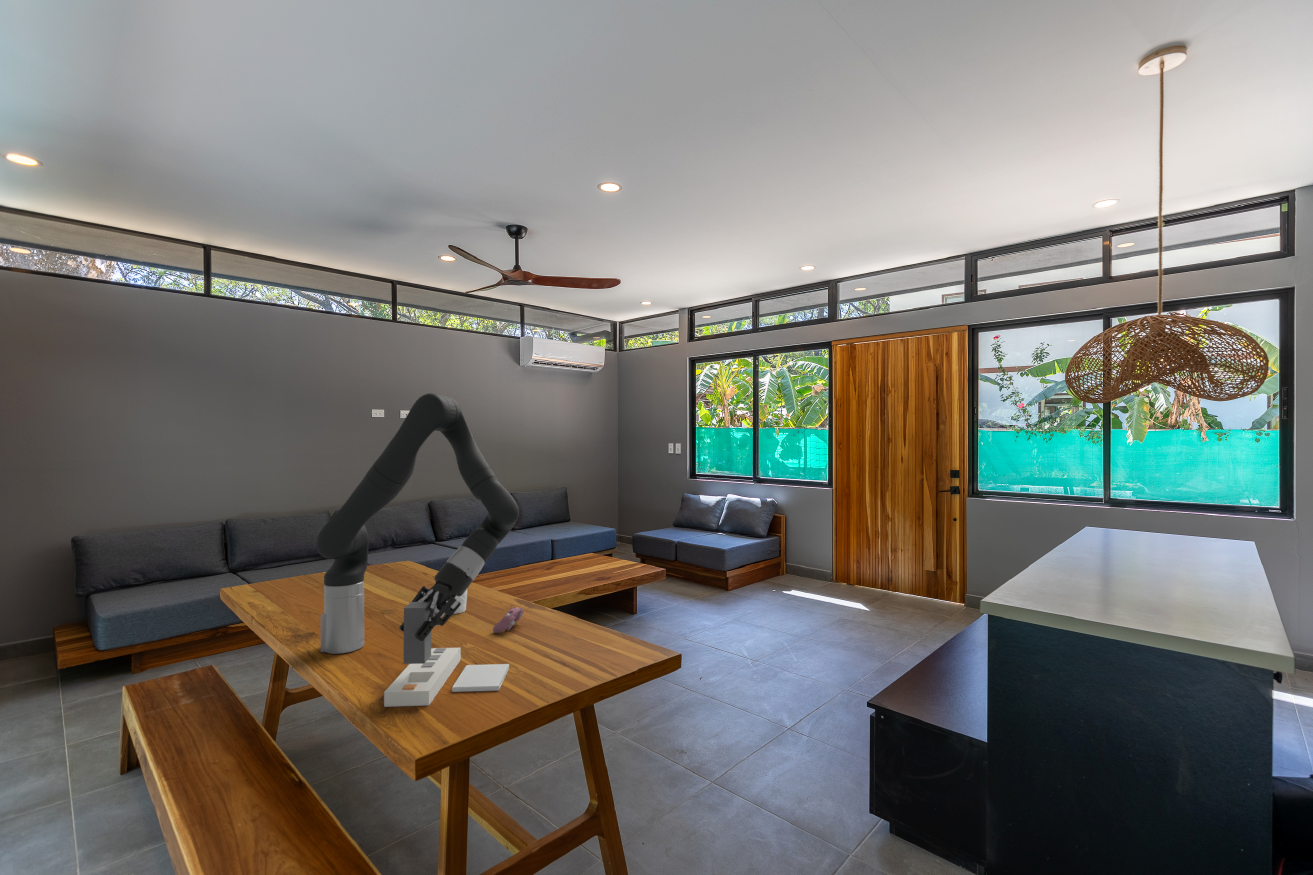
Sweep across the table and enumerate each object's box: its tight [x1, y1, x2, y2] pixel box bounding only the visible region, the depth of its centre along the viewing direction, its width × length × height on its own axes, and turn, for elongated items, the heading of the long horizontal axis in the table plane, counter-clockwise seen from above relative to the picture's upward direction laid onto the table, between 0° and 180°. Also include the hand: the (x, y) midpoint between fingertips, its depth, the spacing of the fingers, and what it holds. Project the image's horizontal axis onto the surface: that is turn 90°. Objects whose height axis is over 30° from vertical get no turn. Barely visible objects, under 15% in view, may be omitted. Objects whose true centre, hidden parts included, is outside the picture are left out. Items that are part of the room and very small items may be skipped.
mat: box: [451, 663, 510, 693], centre depth 131 cm, size 10×12×1 cm
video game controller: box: [492, 606, 525, 634], centre depth 166 cm, size 10×5×7 cm, turn 169°
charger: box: [403, 601, 432, 665], centre depth 126 cm, size 4×4×12 cm
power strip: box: [383, 647, 462, 708], centre depth 131 cm, size 9×24×3 cm, turn 4°
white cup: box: [453, 588, 468, 615], centre depth 182 cm, size 8×8×10 cm
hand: (410, 634), depth 124 cm, fingers closed on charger, 6 cm apart
